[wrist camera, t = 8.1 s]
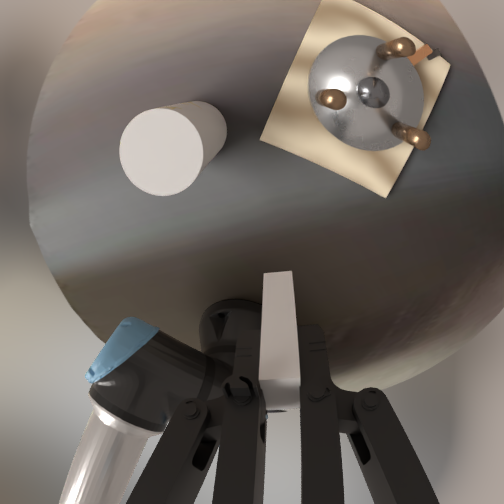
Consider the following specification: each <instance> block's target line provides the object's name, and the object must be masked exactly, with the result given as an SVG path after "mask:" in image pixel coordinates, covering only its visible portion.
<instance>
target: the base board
mask: <svg viewBox="0 0 504 504" xmlns="http://www.w3.org/2000/svg"><path fill="white" fill-rule="evenodd" d="M353 35H366V36H372V37H376V38H379V39H382V40H384V41H386V42H388V41H391V40H394V39H397V38H400V37H407V38H409V39H411V40H412V41H413V42H414V44H415V47H416V50H417V49H419V48H420V47H422V46H423V45H424V43H423V42H421V41H420V40H418V39H417V38H416V37H414V36H413V35H411V34H410V33H408V32H407V31H405V30H404V29H402V28H401V27H399V26H398V25H396V24H395V23H393V22H391V21H390V20H388V19H386V18H385V17H383V16H381V15H380V14H378V13H376V12H374V11H372V10H371V9H369V8H367V7H365V6H363V5H361V4H359V3H357V2H355V1H353V0H322V1H321V3H320V5H319V7H318V9H317V11H316V13H315V15H314V18H313V20H312V22H311V24H310V26H309V28H308V30H307V32H306V34H305V37H304V39H303V41H302V43H301V45H300V47H299V50H298V52H297V54H296V56H295V58H294V61H293V63H292V65H291V67H290V70H289V72H288V74H287V76H286V79H285V81H284V83H283V85H282V88H281V90H280V92H279V95H278V97H277V99H276V102H275V104H274V106H273V109H272V111H271V113H270V116H269V118H268V121H267V123H266V125H265V128H264V130H263V133H262V135H261V137H260V140H261V141H264V142H266V143H269V144H271V145H274V146H277V147H279V148H281V149H284V150H286V151H289V152H291V153H294V154H296V155H298V156H301V157H303V158H305V159H307V160H310V161H312V162H314V163H316V164H319V165H321V166H323V167H325V168H327V169H329V170H332V171H334V172H336V173H338V174H340V175H342V176H344V177H346V178H348V179H350V180H352V181H354V182H356V183H358V184H360V185H362V186H364V187H366V188H368V189H369V190H371V191H373V192H375V193H377V194H379V195H381V196H382V197H384V198H386V197H387V195H388V193H389V192H390V190H391V188H392V186H393V184H394V183H395V181H396V179H397V177H398V176H399V174H400V172H401V170H402V168H403V166H404V165H405V163H406V161H407V159H408V157H409V155H410V153H411V151H412V149H413V147H414V146H412V145H410V144H408V143H406V142H402V143H401V144H399V145H397V146H395V147H393V148H390V149H386V150H381V151H366V150H361V149H357V148H354V147H351V146H349V145H347V144H345V143H343V142H342V141H340V140H338V139H337V138H336V137H335V136H333V135H332V134H331V133H330V132H328V131H327V130H326V129H325V128H324V127H323V125H322V124H321V123H320V122H319V120H318V119H317V117H316V115H315V114H314V112H313V109H312V107H311V104H310V101H309V97H308V90H307V82H308V75H309V70H310V68H311V65H312V63H313V61H314V60H315V58H316V57H317V55H318V54H319V53H320V52H321V51H322V50H323V49H324V48H325V47H327V46H328V45H329V44H331V43H332V42H334V41H336V40H338V39H340V38H343V37H347V36H353ZM431 50H432V49H431ZM432 51H433V52H432V53H431V54H429V55H428V56H427V57H425V58H424V59H422V60H421V61H420V62H418V63H417V64H416V65H414V67H415V69H416V71H417V73H418V75H419V77H420V80H421V83H422V87H423V93H424V107H423V113H422V116H421V119H420V122H419V124H418V126H417V127H416V128H418V129H420V130H422V129H423V127H424V125H425V123H426V121H427V119H428V117H429V115H430V112H431V110H432V108H433V106H434V104H435V101H436V99H437V97H438V95H439V92H440V90H441V88H442V85H443V83H444V80H445V78H446V75H447V73H448V70H449V68H450V64H449V63H448V62H447V61H445V60H444V59H443V58H442V57H441V56H439V55H441V53H440V51H439V50H438V49H435V50H432Z"/></svg>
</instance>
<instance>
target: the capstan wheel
mask: <svg viewBox="0 0 504 504" xmlns="http://www.w3.org/2000/svg"><path fill="white" fill-rule="evenodd" d="M432 52H433V51H432V50H431V48H430V47H429V46H428V44H424V45H423V46H422V47H420V48H419V49H417V50H416V47H415V44H414V42H413V41H412V40H411V39H409V38H407V37H400V38H397V39H394V40H391V41H388V42H386V41H384V40H382V39H379V38H376V37H372V36H366V35H353V36H347V37H343V38H340V39H338V40H336V41H334V42H332V43H331V44H329V45H328V46H327V47H325V48H324V49H323V50H322V51H321V52H320V53H319V54H318V55H317V57H316V58H315V60H314V61H313V63H312V65H311V68H310V70H309V75H308V82H307V90H308V97H309V101H310V104H311V107H312V109H313V112H314V114H315V115H316V117H317V119H318V120H319V122H320V123H321V124H322V125H323V127H324V128H325V129H326V130H327V131H328V132H330V133H331V134H332V135H333V136H335V137H336V138H337V139H338V140H340V141H342V142H343V143H345V144H347V145H349V146H351V147H354V148H357V149H361V150H366V151H381V150H386V149H390V148H393V147H395V146H397V145H399V144H401V143H402V142H406V143H408V144H410V145H412V146H414V147H416V148H417V149H419V150H426V149H428V148H429V146H430V143H431V138H430V136H429V134H428V133H427V132H425V131H423V130H420V129H418V128H416V127H417V126H418V124H419V122H420V119H421V116H422V113H423V107H424V93H423V87H422V83H421V80H420V77H419V75H418V73H417V71H416V69H415V67H414V65H416V64H417V63H418V62H420V61H421V60H422V59H424V58H425V57H427V56H428V55H429V54H431V53H432Z"/></svg>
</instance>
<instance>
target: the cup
mask: <svg viewBox="0 0 504 504" xmlns="http://www.w3.org/2000/svg"><path fill="white" fill-rule="evenodd" d="M226 136H227V126H226V122H225V119H224V117H223V116H222V114H221V113H220V111H219V110H218V109H217V108H215V107H214V106H212V105H211V104H208V103H206V102H202V101H191V102H185V103H180V104H175V105H170V106H165V107H160V108H155V109H151V110H148V111H145V112H143V113H141V114H139V115H138V116H136V117H135V118H134V119H133V120H132V121H131V122H130V123H129V124H128V125H127V127H126V129H125V130H124V132H123V135H122V138H121V141H120V160H121V164H122V167H123V169H124V171H125V173H126V175H127V176H128V178H129V179H130V180H131V181H132V183H133V184H135V185H136V186H137V187H138V188H140V189H141V190H143V191H145V192H147V193H150V194H153V195H159V196H167V195H173V194H176V193H179V192H181V191H183V190H184V189H186V188H187V187H188V186H189V185H191V184H192V182H193V181H194V180H195V179H196V178H197V176H198V175H199V174H200V173H201V172H202V171H203V169H204V168H205V167H206V166H207V165H208V164H209V162H210V161H211V160H212V159H213V158H214V157H215V156H216V154H217V153H218V152H219V151H220V150H221V148H222V147H223V145H224V143H225V140H226Z"/></svg>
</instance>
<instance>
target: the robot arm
mask: <svg viewBox="0 0 504 504" xmlns="http://www.w3.org/2000/svg"><path fill="white" fill-rule="evenodd" d="M199 336H200V343H201V351H202V352H200V351H198V350H196V349H194V348H192V347H190V346H188V345H186V344H184V343H182V342H180V341H179V340H177V339H175V338H173V337H171V336H169V335H168V334H166V333H164V332H162V331H160V330H159V328H158V327H153V326H152V325H150V324H148V323H146V322H144V321H142V320H140V319H138V318H136V317H128V318H125V319H124V320H123V321H122V322H121V323H120V324H119V326H118V327H117V328H116V330H115V331H114V333H113V334H112V335H111V337H110V338H109V340H108V341H107V343H106V344H105V346H104V347H103V349H102V350H101V351H100V353H99V355H98V356H97V358H96V359H95V360H94V362H93V364H92V365H91V367H90V368H89V370H88V371H87V372H86V374H85V378H86V379H87V380H88V382H89V383H93V384H92V386H91V388H90V391H89V393H88V396H89V398H90V401H91V403H92V405H93V411H92V413H91V416H90V418H89V421H88V423H87V425H86V428H85V430H84V433H83V435H82V438H81V441H80V443H79V446H78V448H77V451H76V454H75V456H74V459H73V462H72V465H71V467H70V471H69V473H68V476H67V479H66V482H65V485H64V489H63V492H62V495H61V498H60V502H59V504H120V501H121V499H122V497H123V494H124V492H125V490H126V487H127V485H128V483H129V481H130V478H131V476H132V473H133V471H134V469H135V467H136V465H137V463H138V460H139V458H140V456H141V453H142V451H143V449H144V447H145V445H146V442H147V440H148V438H149V437H151V436H155V435H159V434H162V433H163V432H164V433H163V435H162V436H161V438H160V440H159V442H158V444H157V446H156V448H155V450H154V452H153V453H152V456H151V457H150V459H149V461H148V463H147V465H146V467H145V469H144V470H143V472H142V474H141V476H140V478H139V480H138V482H137V484H136V486H135V487H134V489H133V491H132V493H131V495H130V497H129V499H128V500H127V502H126V504H194V501H195V499H196V497H197V495H198V493H199V491H200V488H201V486H202V484H203V482H204V479H205V477H206V475H207V472H208V470H209V468H210V466H211V463H212V461H213V459H214V456H215V454H216V452H217V449H218V447H219V454H218V461H217V469H216V477H215V485H214V492H213V500H212V504H263V494H264V474H265V452H266V428H267V427H266V426H267V421H266V420H267V419H268V415H267V410H283V409H297V408H300V421H301V422H300V423H301V424H300V426H301V504H344V486H343V472H342V471H343V470H342V458H341V446H340V435H339V432H340V433H346V434H347V437H348V439H349V441H350V444H351V446H352V449H353V451H354V453H355V456H356V458H357V461H358V463H359V466H360V468H361V470H362V473H363V475H364V478H365V481H366V483H367V486H368V488H369V491H370V493H371V496H372V498H373V501H374V503H375V504H439V502H438V499H437V497H436V495H435V493H434V491H433V488H432V486H431V484H430V482H429V480H428V478H427V475H426V473H425V471H424V469H423V467H422V465H421V463H420V461H419V459H418V457H417V455H416V453H415V451H414V449H413V447H412V445H411V443H410V441H409V439H408V437H407V435H406V433H405V431H404V429H403V427H402V425H401V423H400V421H399V419H398V417H397V416H396V414H395V412H394V410H393V408H392V406H391V404H390V403H389V401H388V399H387V397H386V395H385V394H384V393H383V392H382V391H381V390H379V389H377V388H371V387H370V388H365V389H363V390H361V391H359V392H352V391H346V390H342V389H340V388H338V387H337V386H336V385H335V384H334V383H333V382H332V380H331V376H330V370H329V363H328V356H327V351H326V343H325V337H324V332H323V331H322V329H321V328H320V326H319V325H318V324H316V325H306V326H297V323H296V311H295V299H294V288H293V278H292V271H285V272H273V273H264V280H263V303H262V305H260V304H257V303H254V302H251V301H246V300H225V301H221V302H218V303H215V304H213V305H211V306H210V307H209V308H207V309H206V310H205V312H204V313H203V315H202V318H201V321H200V325H199ZM168 422H169V423H168ZM167 423H168V425H167ZM166 425H167V427H166ZM165 428H166V429H165ZM164 430H165V431H164Z"/></svg>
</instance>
